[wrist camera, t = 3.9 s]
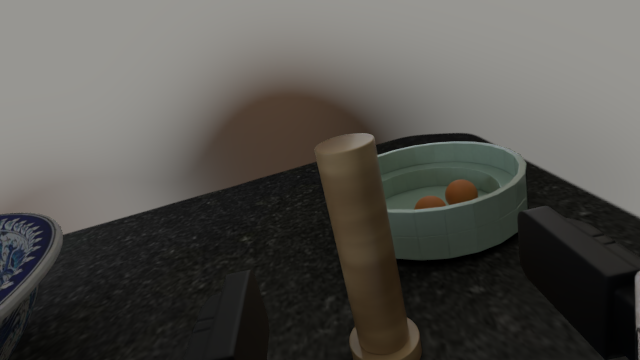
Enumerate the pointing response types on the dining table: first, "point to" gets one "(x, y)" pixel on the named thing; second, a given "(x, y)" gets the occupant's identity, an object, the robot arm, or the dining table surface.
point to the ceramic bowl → (23, 270)
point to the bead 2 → (460, 192)
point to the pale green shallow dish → (457, 219)
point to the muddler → (366, 249)
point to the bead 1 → (429, 202)
